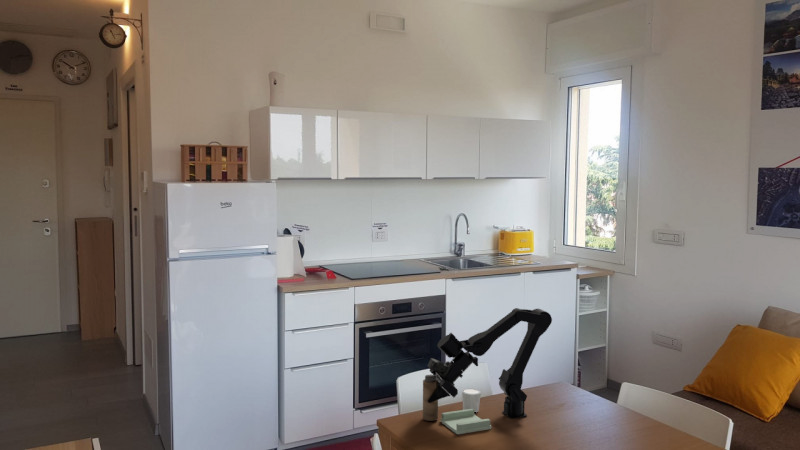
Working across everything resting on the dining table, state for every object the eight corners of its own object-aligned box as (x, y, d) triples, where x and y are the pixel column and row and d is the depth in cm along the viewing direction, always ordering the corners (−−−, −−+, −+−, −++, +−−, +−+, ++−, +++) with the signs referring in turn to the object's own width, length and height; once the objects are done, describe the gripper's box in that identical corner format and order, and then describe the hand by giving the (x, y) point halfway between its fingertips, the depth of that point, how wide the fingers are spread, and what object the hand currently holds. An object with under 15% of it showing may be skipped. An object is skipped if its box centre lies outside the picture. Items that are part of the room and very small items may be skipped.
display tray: (473, 416, 216) (473, 408, 215) (491, 428, 205) (491, 419, 204) (440, 421, 210) (440, 413, 210) (457, 434, 199) (457, 425, 199)
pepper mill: (433, 414, 215) (433, 373, 215) (440, 419, 211) (440, 377, 210) (420, 416, 213) (420, 375, 213) (426, 421, 209) (427, 379, 208)
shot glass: (479, 414, 218) (480, 395, 218) (460, 412, 219) (460, 393, 219) (481, 407, 225) (481, 389, 224) (462, 406, 226) (462, 387, 226)
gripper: (435, 344, 221) (405, 376, 219) (448, 358, 202) (415, 392, 201) (456, 364, 223) (426, 396, 221) (471, 380, 204) (439, 414, 203)
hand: (426, 399), depth 211 cm, fingers closed on pepper mill, 5 cm apart
